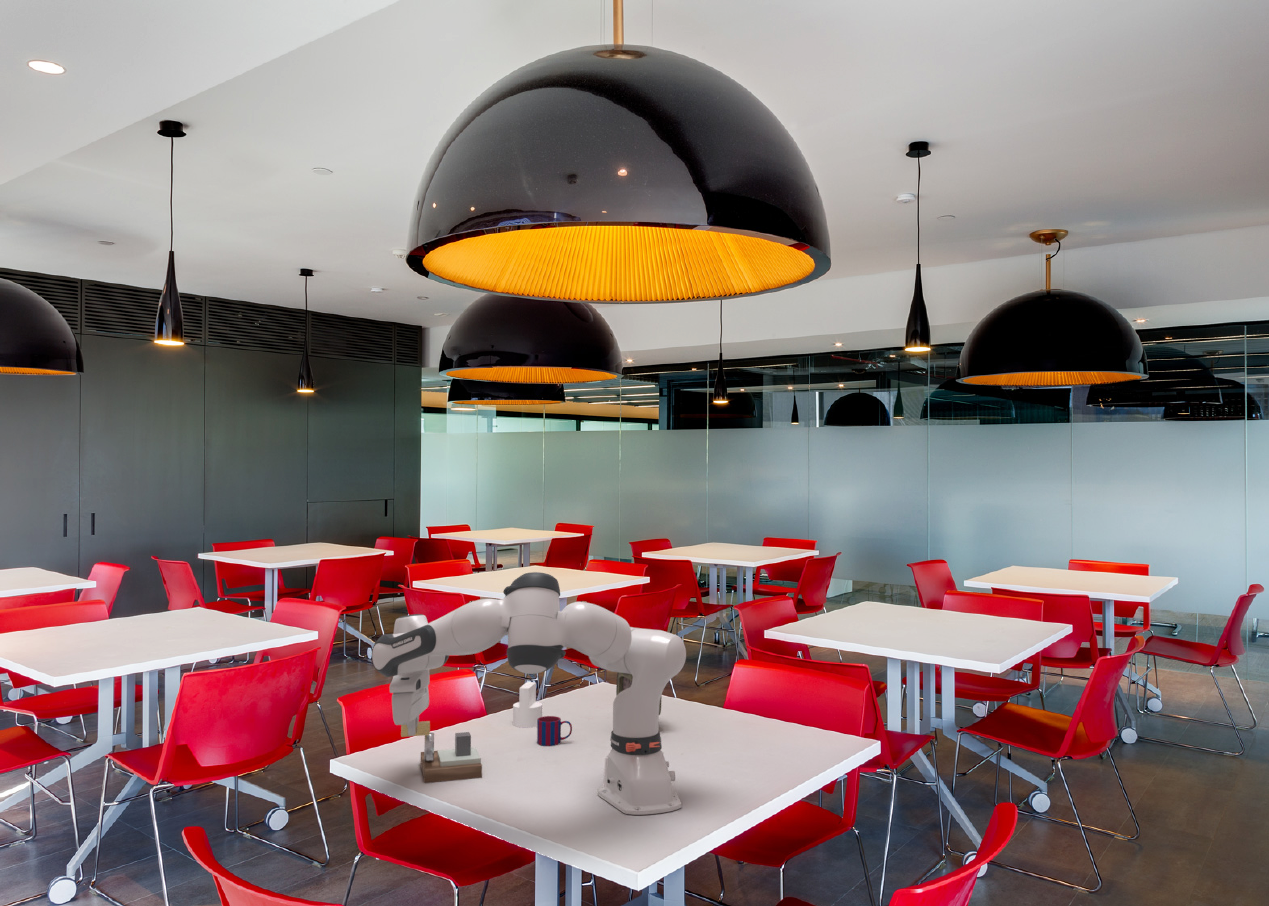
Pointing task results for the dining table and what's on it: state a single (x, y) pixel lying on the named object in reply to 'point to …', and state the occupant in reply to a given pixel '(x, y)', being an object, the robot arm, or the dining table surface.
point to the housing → (448, 770)
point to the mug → (550, 730)
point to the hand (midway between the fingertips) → (412, 734)
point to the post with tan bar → (424, 729)
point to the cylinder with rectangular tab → (527, 707)
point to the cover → (459, 752)
